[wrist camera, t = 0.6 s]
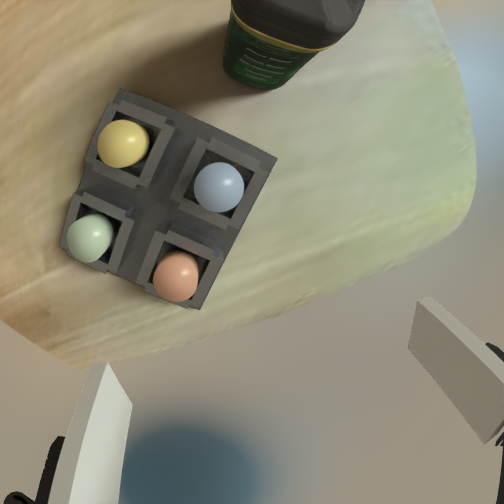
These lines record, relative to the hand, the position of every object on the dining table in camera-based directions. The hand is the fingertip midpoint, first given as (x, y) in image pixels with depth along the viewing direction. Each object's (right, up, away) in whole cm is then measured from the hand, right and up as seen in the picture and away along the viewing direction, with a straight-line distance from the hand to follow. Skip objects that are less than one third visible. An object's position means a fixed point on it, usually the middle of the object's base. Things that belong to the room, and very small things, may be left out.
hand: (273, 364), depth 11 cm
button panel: (-11, +10, +20) cm, 25 cm away
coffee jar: (0, +26, +16) cm, 31 cm away
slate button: (-4, +11, +17) cm, 21 cm away
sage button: (-17, +6, +17) cm, 25 cm away
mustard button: (-13, +15, +15) cm, 25 cm away
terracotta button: (-9, +3, +20) cm, 22 cm away
